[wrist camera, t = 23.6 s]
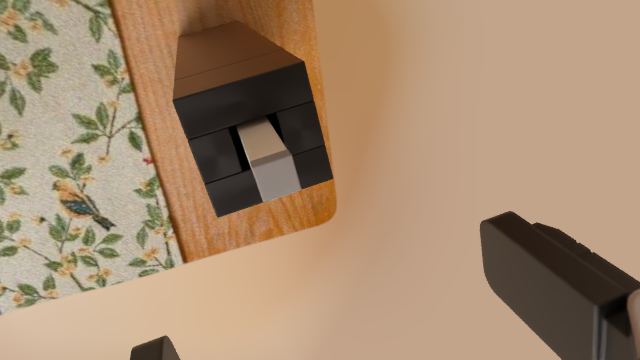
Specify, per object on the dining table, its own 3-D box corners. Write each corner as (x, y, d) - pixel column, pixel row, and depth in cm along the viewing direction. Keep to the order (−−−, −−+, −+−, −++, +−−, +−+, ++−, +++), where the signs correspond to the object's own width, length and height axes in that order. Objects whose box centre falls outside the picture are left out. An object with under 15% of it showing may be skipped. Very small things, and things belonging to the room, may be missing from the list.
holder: (199, 96, 51) (217, 218, 24) (178, 37, 48) (171, 100, 21) (255, 79, 52) (333, 179, 25) (238, 20, 49) (304, 60, 22)
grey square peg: (237, 134, 28) (263, 203, 19) (229, 108, 27) (251, 167, 18) (264, 125, 28) (302, 190, 19) (256, 99, 27) (291, 154, 18)
